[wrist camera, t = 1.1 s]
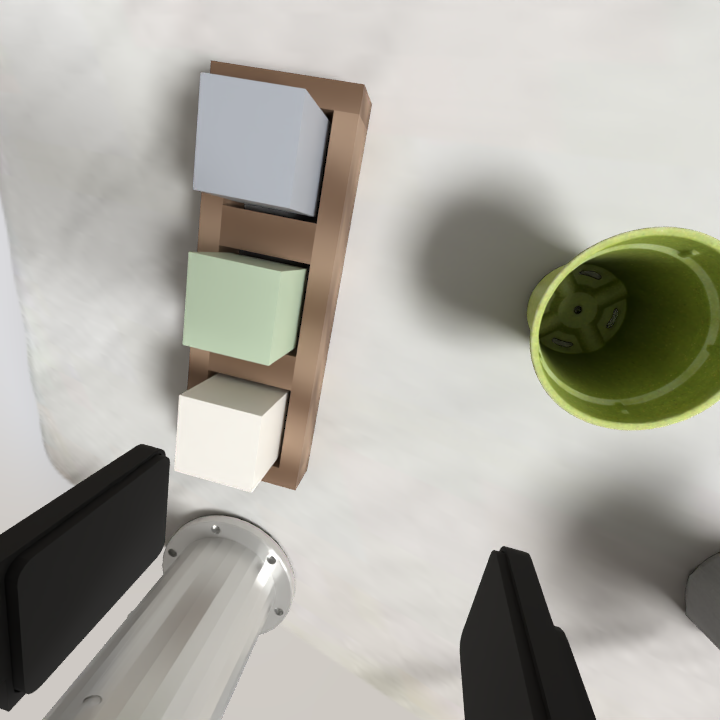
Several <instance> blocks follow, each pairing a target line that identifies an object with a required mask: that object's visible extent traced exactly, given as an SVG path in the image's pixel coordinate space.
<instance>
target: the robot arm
mask: <svg viewBox="0 0 720 720" xmlns="http://www.w3.org/2000/svg"><path fill="white" fill-rule="evenodd" d="M169 468H170V460H169V458H168V457H166V455H165V452H164V450H162V449H159V448H155V447H152V446H148V445H145V444H140V445H138V446H136V447H134V448H133V449H131V450H130V451H128V452H127V453H125V454H123V455H122V456H120V457H119V458H117V459H116V460H114V461H113V462H111V463H110V464H108V465H107V466H105V467H103V468H102V469H100V470H99V471H97V472H96V473H94V474H93V475H91V476H90V477H88V478H87V479H85V480H84V481H82V482H80V483H79V484H77V485H76V486H74V487H73V488H71V489H70V490H68V491H67V492H65V493H64V494H62V495H60V496H59V497H57V498H56V499H54V500H53V501H51V502H50V503H48V504H47V505H45V506H44V507H42V508H40V509H39V510H37V511H36V512H34V513H33V514H31V515H30V516H28V517H27V518H25V519H24V520H22V521H20V522H19V523H17V524H16V525H15V526H13V527H11V528H10V529H8V530H7V531H5V532H4V533H2V534H0V708H1V709H3V710H6V711H10V710H11V709H12V708H13V706H15V705H16V703H17V702H18V701H19V700H20V699H21V698H22V697H23V696H24V695H25V694H30V693H33V692H34V691H36V690H37V689H38V688H39V687H40V686H41V685H42V684H43V683H44V682H45V681H46V680H47V679H48V677H49V676H50V675H51V674H52V673H53V672H54V671H55V670H56V669H57V667H58V666H59V665H60V664H61V663H62V662H63V661H64V660H65V659H66V657H67V656H68V655H69V654H70V653H71V652H72V651H73V650H74V649H75V647H76V646H77V645H78V644H79V643H80V642H81V641H82V639H84V637H86V635H87V634H88V633H89V632H90V631H91V630H92V629H93V628H94V627H95V625H96V624H97V623H98V622H99V621H100V620H101V619H102V618H103V617H104V615H105V614H106V613H107V612H108V611H109V610H110V609H111V608H112V607H113V605H114V604H115V603H116V602H117V601H118V600H119V599H120V598H121V597H122V596H123V594H124V593H125V592H126V591H127V590H128V589H129V588H130V587H131V586H132V584H133V583H134V582H135V581H136V580H137V579H138V578H139V577H140V576H141V574H142V573H143V572H144V571H145V570H146V569H147V568H148V567H149V566H150V565H151V563H152V562H153V561H154V560H155V559H156V558H157V557H158V555H159V554H160V552H161V551H162V548H163V546H164V542H165V530H166V514H167V499H168V483H169ZM294 594H295V578H294V574H293V569H292V567H291V565H290V562H289V560H288V558H287V556H286V555H285V553H284V552H283V550H282V549H281V548H280V546H279V545H278V544H277V543H276V542H275V541H274V540H273V539H272V538H271V537H270V536H269V535H267V534H266V533H265V532H263V531H262V530H261V529H259V528H257V527H256V526H254V525H252V524H250V523H248V522H246V521H243V520H240V519H237V518H234V517H228V516H220V515H210V516H205V517H199V518H197V519H194V520H192V521H190V522H188V523H187V524H185V525H184V526H183V527H181V528H180V529H179V530H178V531H177V533H176V534H175V535H174V536H173V537H172V538H171V540H170V541H169V543H168V544H167V546H166V549H165V552H164V555H163V576H162V577H161V578H160V579H159V580H158V582H157V583H156V584H155V585H154V586H153V588H152V589H151V590H150V591H149V592H148V594H147V595H146V596H145V597H144V599H143V600H142V601H141V602H140V603H139V604H138V606H137V607H136V608H135V609H134V610H133V611H132V612H131V613H130V614H129V615H128V617H127V619H126V620H125V621H124V622H123V624H122V625H121V626H120V627H119V628H118V630H117V631H116V632H115V633H114V634H113V636H112V637H111V638H110V639H109V640H108V642H107V643H106V644H105V645H104V647H103V648H102V649H101V650H100V651H99V653H98V654H97V655H96V656H95V657H94V658H93V660H92V661H91V662H90V663H89V665H88V666H87V667H86V668H85V669H84V671H83V672H82V673H81V674H80V675H79V676H78V678H77V679H76V680H75V681H74V682H73V684H72V685H71V686H70V687H69V688H68V690H67V691H66V692H65V693H64V694H63V696H62V697H61V698H60V699H59V700H58V702H57V703H56V704H55V705H54V706H53V707H52V709H51V710H50V711H49V712H48V713H47V715H46V716H45V717H44V718H43V720H221V719H222V717H223V714H224V712H225V710H226V707H227V705H228V703H229V701H230V699H231V697H232V694H233V692H234V690H235V688H236V685H237V683H238V681H239V679H240V676H241V674H242V672H243V670H244V667H245V665H246V663H247V661H248V659H249V656H250V654H251V652H252V649H253V647H254V645H255V643H256V641H257V638H258V636H259V635H260V634H264V633H266V632H268V631H270V630H272V629H274V628H275V627H277V626H278V625H279V624H280V623H281V622H282V621H283V620H284V618H285V617H286V615H287V614H288V612H289V609H290V607H291V604H292V602H293V598H294ZM460 662H461V675H462V688H463V701H464V714H465V720H596V718H595V715H594V712H593V709H592V706H591V704H590V701H589V698H588V695H587V692H586V690H585V687H584V684H583V681H582V679H581V676H580V673H579V670H578V667H577V665H576V662H575V659H574V656H573V653H572V651H571V648H570V645H569V642H568V640H567V637H566V635H565V633H564V632H563V630H562V629H561V628H560V627H557V626H554V625H553V622H552V619H551V616H550V613H549V610H548V607H547V604H546V601H545V598H544V595H543V592H542V589H541V586H540V583H539V580H538V577H537V574H536V571H535V568H534V565H533V562H532V559H531V557H530V555H529V554H528V553H527V552H523V551H519V550H516V549H512V548H509V547H505V546H503V547H502V548H501V549H500V551H495V550H493V551H492V552H491V555H490V557H489V560H488V563H487V565H486V568H485V571H484V574H483V577H482V579H481V582H480V585H479V588H478V590H477V593H476V596H475V599H474V601H473V604H472V607H471V610H470V612H469V615H468V618H467V621H466V624H465V626H464V629H463V632H462V635H461V640H460Z"/></svg>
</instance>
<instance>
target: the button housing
mask: <svg viewBox="0 0 720 720" xmlns="http://www.w3.org/2000/svg"><path fill="white" fill-rule="evenodd" d="M210 74H216V75H222V76H229V77H235V78H241V79H247V80H253V81H260V82H266V83H272V84H278V85H284V86H291V87H297V88H303V89H306V90H307V91H308V93H309V94H310V96H311V97H312V98H313V100H314V101H315V102H316V104H317V105H318V106H319V108H320V109H321V110H322V112H323V113H324V115H325V116H326V117H327V119H328V120H329V121H330V124H332V127H331V134H330V140H329V147H328V153H327V160H326V166H325V173H324V179H323V186H322V192H321V199H320V205H319V212H318V218H317V224H315V223H310V222H305V221H300V220H295V219H290V218H285V217H280V216H275V215H270V214H265V213H260V212H255V211H250V210H245V209H244V203H241V202H236V201H232V200H229V199H225V198H222V197H218V196H215V195H211V194H208V193H204V192H202V193H201V206H200V220H199V234H198V248H197V252H230V253H236V254H239V251H240V250H245V251H250V252H255V253H259V254H264V255H269V256H273V257H278V258H283V259H288V260H292V261H297V262H302V263H306V264H310V270H309V277H308V283H307V290H306V297H305V303H304V310H303V316H302V323H301V329H300V336H299V342H298V345H296V348H294V349H293V350H291V351H290V352H288V353H287V354H285V355H284V356H282V357H281V358H279V359H278V360H277V361H275V362H274V363H272V364H271V365H269V366H267V365H263V364H259V363H255V362H251V361H247V360H243V359H239V358H234V357H230V356H226V355H222V354H218V353H214V352H210V351H206V350H202V349H198V348H194V347H190V358H189V372H188V386H187V390H189V389H191V388H193V387H194V386H196V385H198V384H200V383H202V382H203V381H205V380H207V379H209V378H211V377H212V376H214V375H216V374H218V373H223V374H227V375H230V376H234V377H238V378H242V379H246V380H250V381H254V382H258V383H262V384H266V385H270V386H274V387H278V388H282V389H286V390H290V391H291V394H290V401H289V407H288V414H287V420H286V427H285V433H284V440H283V446H281V450H280V456H279V457H278V458H277V460H276V461H275V462H274V464H273V465H272V466H271V468H270V469H269V470H268V472H267V473H266V474H265V476H264V477H263V478H262V480H261V481H264V482H268V483H271V484H275V485H278V486H282V487H285V488H289V489H293V490H296V488H297V486H298V485H299V483H300V481H301V479H302V478H303V476H304V474H305V472H306V471H307V467H308V461H309V456H310V450H311V445H312V439H313V433H314V428H315V422H316V416H317V411H318V405H319V399H320V394H321V388H322V383H323V377H324V371H325V366H326V360H327V354H328V349H329V343H330V337H331V332H332V326H333V320H334V315H335V309H336V304H337V298H338V292H339V287H340V281H341V275H342V270H343V264H344V258H345V253H346V247H347V241H348V236H349V230H350V225H351V219H352V213H353V208H354V202H355V196H356V191H357V185H358V179H359V174H360V168H361V162H362V157H363V151H364V146H365V140H366V134H367V129H368V123H369V117H370V112H371V106H372V104H371V101H370V98H369V96H368V93H367V90H366V88H365V85H363V84H357V83H351V82H344V81H338V80H332V79H325V78H319V77H312V76H306V75H300V74H293V73H287V72H281V71H274V70H268V69H262V68H255V67H249V66H242V65H236V64H230V63H223V62H217V61H211V68H210Z"/></svg>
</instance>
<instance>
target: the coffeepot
mask: <svg viewBox="0 0 720 720" xmlns="http://www.w3.org/2000/svg"><path fill="white" fill-rule="evenodd" d="M685 601H686V605H687V606H686V616H687V617H688V618H689V619H690V620H691V621H692V622H693V623H694V624H695V625H696V626H697V627H698V628H699V629H700V630H701V631H702V632H703V633H704V634H705V635H706V636H707V637H708V638H709V639H710V640H711V641H712V642H713V643H714V644H715V645H716V646H717V647H718V649H719V650H720V552H719V553H717V554H715V555H713V556H712V557H710V558H708V559H707V560H705V561H704V562H703V563H702V564H700V565H699V566H698V567H697V569H696V570H695V571H694V572H693V573H692V574H691V575H690V576H689V579H688V582H687V586H686V590H685Z"/></svg>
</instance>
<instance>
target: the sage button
mask: <svg viewBox="0 0 720 720" xmlns="http://www.w3.org/2000/svg"><path fill="white" fill-rule="evenodd" d="M307 273H308V269H306V268H302V267H297V266H292V265H287V264H283V263H278V262H273V261H269V260H264V259H259V258H255V257H250V256H245V255H241V254H236V253H230V252H189V255H188V270H187V285H186V300H185V315H184V330H183V345H185V346H190V347H194V348H198V349H202V350H206V351H210V352H214V353H218V354H222V355H226V356H230V357H234V358H239V359H243V360H247V361H251V362H255V363H259V364H263V365H267V366H269V365H271V364H272V363H274V362H275V361H277V360H278V359H279V358H281V357H282V356H284V355H285V354H287V353H288V352H290V351H291V350H293V349H294V348H296V345H297V338H298V332H299V325H300V319H301V312H302V306H303V299H304V293H305V286H306V279H307Z"/></svg>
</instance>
